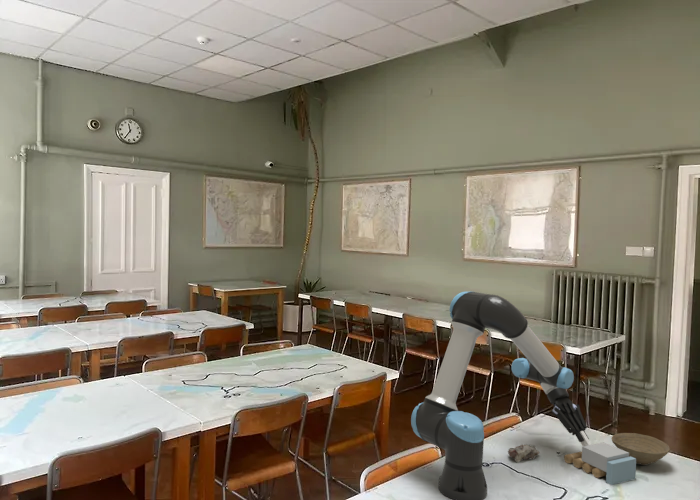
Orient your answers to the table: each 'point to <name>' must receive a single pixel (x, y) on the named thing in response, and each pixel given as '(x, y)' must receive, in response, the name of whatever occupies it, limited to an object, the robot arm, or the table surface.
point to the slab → (601, 454)
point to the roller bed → (583, 464)
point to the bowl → (641, 447)
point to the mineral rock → (523, 452)
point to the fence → (621, 470)
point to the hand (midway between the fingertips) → (589, 449)
